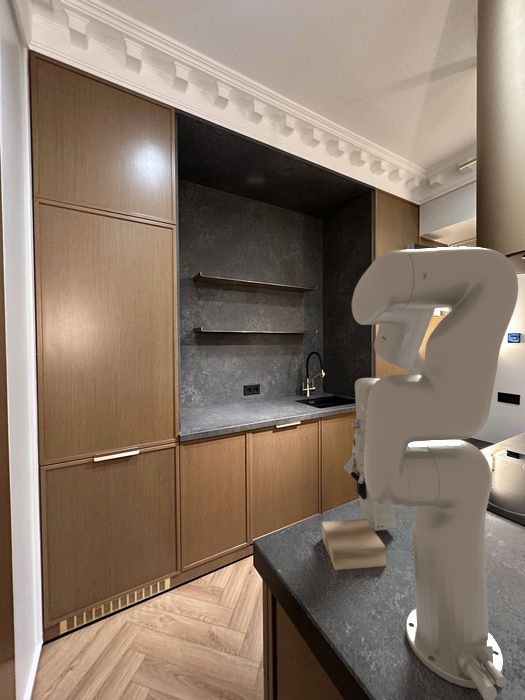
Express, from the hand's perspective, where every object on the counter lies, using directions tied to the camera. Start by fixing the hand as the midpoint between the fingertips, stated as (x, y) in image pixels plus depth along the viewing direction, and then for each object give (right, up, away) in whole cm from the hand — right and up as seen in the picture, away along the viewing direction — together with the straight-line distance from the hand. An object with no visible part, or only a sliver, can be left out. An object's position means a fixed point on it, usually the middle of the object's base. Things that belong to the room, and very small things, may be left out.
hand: (375, 495), depth 80 cm
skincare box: (0, -7, 0) cm, 7 cm away
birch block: (-9, -8, -9) cm, 15 cm away
